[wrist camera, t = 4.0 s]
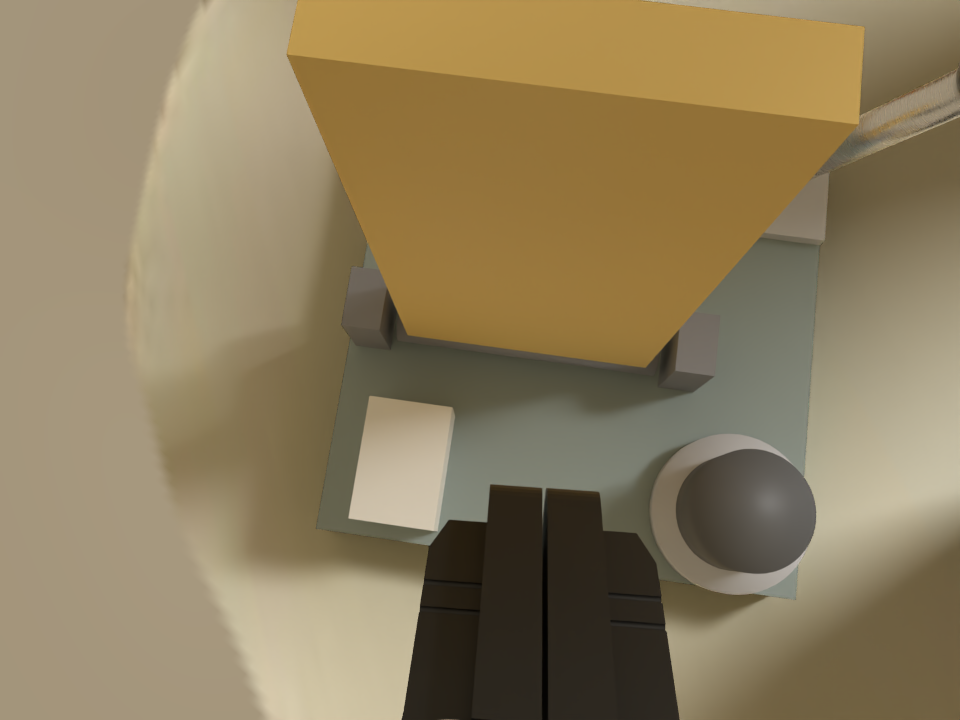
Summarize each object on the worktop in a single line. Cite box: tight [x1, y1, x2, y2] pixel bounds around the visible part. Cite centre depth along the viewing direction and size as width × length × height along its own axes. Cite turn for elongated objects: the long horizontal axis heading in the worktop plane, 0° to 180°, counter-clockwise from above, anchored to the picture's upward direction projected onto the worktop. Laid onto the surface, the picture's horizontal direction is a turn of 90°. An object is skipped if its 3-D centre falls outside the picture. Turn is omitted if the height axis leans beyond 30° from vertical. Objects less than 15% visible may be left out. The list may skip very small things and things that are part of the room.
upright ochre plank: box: [287, 0, 865, 376], centre depth 17 cm, size 1×7×15 cm, turn 82°
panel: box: [316, 172, 829, 600], centre depth 24 cm, size 14×13×4 cm
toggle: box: [811, 63, 960, 180], centre depth 21 cm, size 2×2×8 cm
